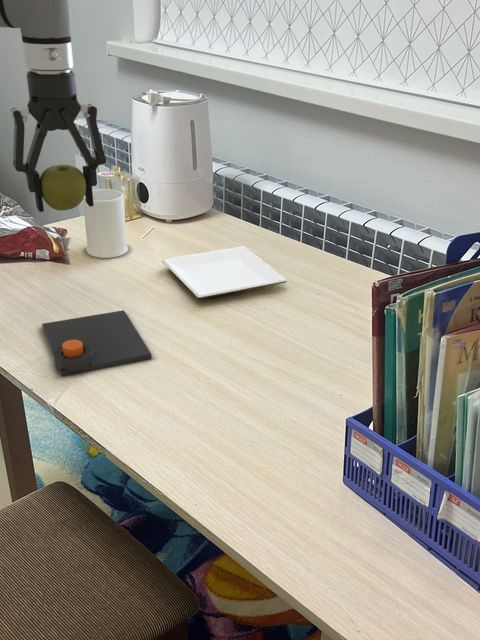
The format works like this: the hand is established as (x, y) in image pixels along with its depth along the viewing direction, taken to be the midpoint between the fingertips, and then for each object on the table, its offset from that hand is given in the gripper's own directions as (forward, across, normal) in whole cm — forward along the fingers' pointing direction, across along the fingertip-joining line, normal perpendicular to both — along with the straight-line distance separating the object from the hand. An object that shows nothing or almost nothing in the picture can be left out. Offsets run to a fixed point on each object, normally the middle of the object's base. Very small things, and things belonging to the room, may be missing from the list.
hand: (65, 206), depth 123 cm
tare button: (+13, -7, -28) cm, 32 cm away
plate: (+16, +27, -8) cm, 32 cm away
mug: (+16, +11, +16) cm, 25 cm away
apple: (0, 0, 0) cm, 0 cm away
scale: (+15, -2, -23) cm, 28 cm away
